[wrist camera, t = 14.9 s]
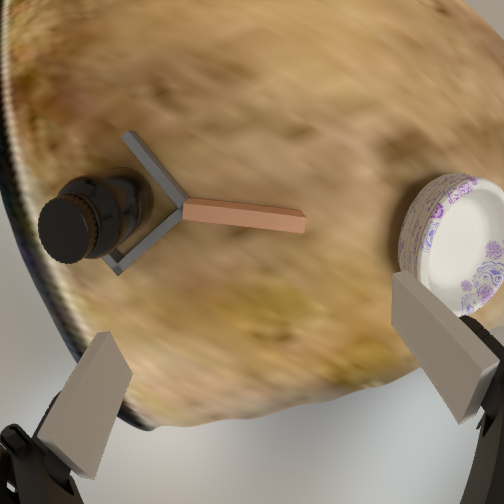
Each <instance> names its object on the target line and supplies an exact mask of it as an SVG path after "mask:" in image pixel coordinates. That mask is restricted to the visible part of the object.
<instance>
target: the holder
mask: <svg viewBox="0 0 504 504" xmlns="http://www.w3.org/2000/svg"><path fill="white" fill-rule="evenodd" d="M120 138H121V139H122V140H123V141H124V143H125V144H126V145H127V146H128V148H129V149H130V150H131V151H132V153H133V154H134V155H135V156H136V158H137V159H138V160H139V161H140V162H141V164H142V165H143V166H144V167H145V169H146V170H147V171H148V172H149V173H150V175H151V176H152V177H153V178H154V179H155V181H156V182H157V183H158V184H159V186H160V187H161V188H162V189H163V190H164V192H165V193H166V194H167V195H168V196H169V198H170V199H171V200H172V201H173V202H174V203H175V205H176V206H177V207H178V209H177V210H176V211H174V212H173V213H172V214H171V215H170V216H169V217H168V218H166V219H165V220H164V221H163V222H162V223H161V224H160V225H158V226H157V227H156V228H155V229H154V230H153V231H152V232H151V233H149V234H148V235H147V236H146V237H145V238H144V239H143V240H142V241H141V242H140V243H139V244H137V245H136V246H135V247H134V248H133V249H132V250H131V251H130V252H129V253H128V254H127V255H126V256H125V257H124V258H123V257H122V256H121V255H120V253H119V252H118V251H117V250H116V249H114V250H113V251H112V252H111V253H109V254H108V255H106V256H104V257H101V258H102V259H103V260H104V261H105V262H106V263H107V265H108V266H109V267H110V268H111V269H112V270H113V271H114V272H115V274H116V275H117V276H119V275H120V274H121V273H122V272H123V271H124V270H125V269H126V268H127V267H128V266H130V265H131V264H132V263H133V262H134V261H135V260H136V259H137V258H138V257H139V256H141V255H142V254H143V253H144V252H145V251H146V250H147V249H148V248H150V247H151V246H152V245H153V244H154V243H155V242H156V241H157V240H159V239H160V238H161V237H162V236H163V235H164V234H165V233H167V232H168V231H169V230H170V229H171V228H172V227H174V226H175V225H176V224H177V223H178V222H180V221H181V220H188V221H198V222H207V223H217V224H226V225H235V226H244V227H252V228H261V229H270V230H278V231H286V232H294V233H302V234H304V230H305V225H306V219H307V217H306V216H305V215H304V214H303V213H302V212H301V211H298V210H291V209H283V208H276V207H268V206H260V205H251V204H243V203H234V202H225V201H216V200H206V199H196V198H189V197H188V195H187V194H186V193H185V192H184V191H183V189H182V188H181V187H180V186H179V185H178V183H177V182H176V181H175V180H174V179H173V177H172V176H171V175H170V174H169V173H168V171H167V170H166V169H165V168H164V167H163V165H162V164H161V163H160V162H159V161H158V159H157V158H156V157H155V156H154V154H153V153H152V152H151V151H150V150H149V148H148V147H147V146H146V145H145V144H144V142H143V141H142V140H141V139H140V137H139V136H138V135H137V134H136V133H135V131H129V130H128V131H127V132H126V133H125V134H124V135H123V136H122V137H120Z"/></svg>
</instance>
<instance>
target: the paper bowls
mask: <svg viewBox="0 0 504 504" xmlns="http://www.w3.org/2000/svg"><path fill="white" fill-rule="evenodd" d="M398 258H399V259H398V262H399V266H400V271H404V270H407V271H408V272H409V273H411V274H412V275H413V276H414V277H415V278H416V279H417V280H419V281H420V282H421V283H422V284H423V285H424V286H425V287H426V288H428V289H429V290H430V291H431V292H432V293H433V294H434V295H435V296H436V297H437V298H438V299H439V300H441V301H442V302H443V303H444V304H445V305H446V306H447V307H448V308H449V309H450V310H451V311H452V312H453V313H454V314H455V315H456V316H457V317H461V316H463V315H470V314H472V313H473V312H475V311H477V310H478V309H480V308H481V307H482V306H483V305H484V304H486V303H487V302H488V301H489V300H490V299H491V297H492V296H493V295H494V294H495V292H496V291H497V290H498V288H499V287H500V285H501V284H502V282H503V280H504V191H503V190H502V189H501V188H500V187H499V186H498V185H497V184H496V183H494V182H493V181H491V180H488V179H484V178H481V177H475V176H470V175H467V174H461V173H450V174H445V175H442V176H440V177H438V178H435V179H434V180H432V181H431V182H430V183H428V184H427V185H426V186H425V187H424V188H423V189H422V190H421V191H420V192H419V194H418V195H417V196H416V198H415V199H414V201H413V202H412V204H411V206H410V207H409V211H408V212H407V215H406V217H405V219H404V222H403V225H402V228H401V233H400V238H399V245H398Z"/></svg>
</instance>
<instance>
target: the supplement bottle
mask: <svg viewBox="0 0 504 504" xmlns="http://www.w3.org/2000/svg"><path fill="white" fill-rule="evenodd" d="M152 207H153V194H152V190H151V187H150V185H149V183H148V181H147V180H146V179H145V177H144V176H143V175H142V174H140V173H139V172H138V171H136V170H134V169H131V168H126V167H119V168H113V169H108V170H104V171H100V172H95V173H91V174H87V175H83V176H79V177H77V178H74V179H72V180H70V181H69V182H68V183H66V184H65V185H64V186H63V188H62V189H61V190H60V192H59V193H58V195H57V197H56V198H54V199H52V200H50V201H49V202H48V203H46V204H45V206H44V207H43V208H42V211H41V213H40V217H39V219H38V221H39V223H38V232H39V238H40V240H41V243H42V245H43V246H44V249H45V250H46V251H47V253H48V254H49V255H50V256H51V257H52V258H54V259H55V260H56V261H59V262H60V263H65V264H68V263H69V264H73V263H77V262H78V261H79V260H82V259H83V258H85V259H98V258H101V257H104V256H106V255H108V254H109V253H111V252H112V251H113V250H114V249H115V248H117V247H118V246H119V245H120V244H121V243H122V242H124V241H125V240H126V239H127V238H128V237H130V236H131V235H132V234H133V233H134V232H136V231H137V230H138V229H139V228H140V227H141V226H142V225H143V224H144V223H145V222H146V221H147V220H148V218H149V216H150V214H151V211H152Z"/></svg>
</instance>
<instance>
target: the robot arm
mask: <svg viewBox="0 0 504 504" xmlns="http://www.w3.org/2000/svg"><path fill="white" fill-rule="evenodd" d="M391 325H392V326H393V327H394V329H395V330H396V332H397V333H398V334H399V336H400V337H401V339H402V340H403V341H404V343H405V344H406V346H407V347H408V348H409V350H410V351H411V353H412V354H413V355H414V357H415V358H416V360H417V361H418V363H419V364H420V366H421V367H422V368H423V370H424V371H425V373H426V374H427V376H428V377H429V379H430V380H431V382H432V383H433V385H434V386H435V388H436V389H437V391H438V392H439V394H440V395H441V397H442V398H443V400H444V402H445V403H446V405H447V406H448V408H449V409H450V411H451V413H452V414H453V416H454V418H455V419H456V421H457V422H458V424H459V425H460V424H462V423H464V422H465V421H467V420H469V419H471V418H473V417H474V416H476V414H477V412H478V410H479V408H480V406H482V408H483V409H484V411H485V412H484V414H483V416H482V418H481V420H480V422H479V423H478V426H477V428H476V429H479V428H480V426H481V429H480V434H479V439H478V444H477V448H476V452H475V457H474V460H473V464H472V468H471V471H470V475H469V478H468V481H467V484H466V488H465V490H464V494H463V496H462V499H461V502H460V504H504V347H503V346H502V345H501V344H500V343H499V342H498V341H497V340H496V339H495V338H494V337H493V336H492V335H490V333H489V332H488V331H487V330H486V329H484V327H483V326H482V325H481V324H480V323H479V322H478V321H477V320H476V319H473V318H471V317H469V316H467V315H463V316H461V317H457V316H456V315H455V314H454V313H453V312H452V311H451V310H450V309H449V308H448V307H447V306H446V305H445V304H444V303H443V302H442V301H441V300H439V299H438V298H437V297H436V296H435V295H434V294H433V293H432V292H431V291H430V290H429V289H428V288H426V287H425V286H424V285H423V284H422V283H421V282H420V281H419V280H417V279H416V278H415V277H414V276H413V275H412V274H411V273H409V272H408V271H407V270H404V271H401V272H397V273H394V274H392V316H391ZM132 375H133V373H132V371H131V370H130V368H129V366H128V364H127V363H126V361H125V359H124V357H123V355H122V354H121V352H120V350H119V348H118V346H117V344H116V342H115V340H114V339H113V337H112V335H111V333H110V331H108V332H100V333H97V334H96V336H95V337H94V339H93V340H92V342H91V343H90V345H89V347H88V348H87V350H86V351H85V353H84V354H83V356H82V358H81V359H80V361H79V362H78V364H77V366H76V367H75V369H74V371H73V372H72V374H71V375H70V377H69V379H68V381H67V382H66V384H65V386H64V387H63V389H62V391H60V392H59V393H58V394H57V395H56V396H55V397H54V398H53V400H52V402H51V404H50V405H49V408H48V409H47V410H46V412H45V415H44V416H43V418H42V420H41V422H40V423H39V425H38V427H37V429H36V431H35V432H34V434H33V437H32V438H30V437H29V436H28V435H27V434H26V432H25V431H24V430H23V429H22V428H21V427H20V426H19V425H18V424H11V425H8V426H7V427H5V429H4V430H3V431H2V432H1V434H0V443H1V444H2V445H3V446H4V447H5V448H6V449H7V450H6V449H5V448H4V447H3V446H2V445H1V444H0V504H84V503H83V501H82V498H81V496H80V494H79V491H78V489H77V486H76V484H75V481H74V479H73V478H72V476H70V475H69V474H70V471H71V470H72V471H74V472H75V473H76V474H77V475H78V476H80V477H82V478H87V479H91V480H94V479H95V476H96V473H97V470H98V467H99V464H100V461H101V458H102V455H103V452H104V449H105V447H106V444H107V441H108V438H109V435H110V432H111V429H112V427H113V424H114V421H115V419H116V416H117V413H118V411H119V408H120V405H121V403H122V400H123V398H124V395H125V392H126V390H127V387H128V385H129V382H130V380H131V377H132ZM7 482H8V483H9V484H11V485H12V486H13V487H14V488H15V492H12V491H11V490H9V489H8V488H7Z"/></svg>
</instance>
